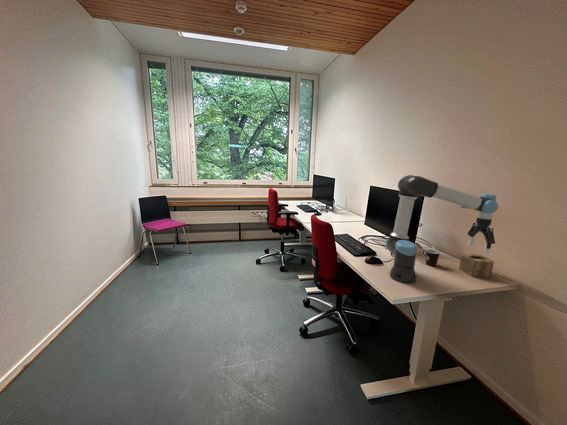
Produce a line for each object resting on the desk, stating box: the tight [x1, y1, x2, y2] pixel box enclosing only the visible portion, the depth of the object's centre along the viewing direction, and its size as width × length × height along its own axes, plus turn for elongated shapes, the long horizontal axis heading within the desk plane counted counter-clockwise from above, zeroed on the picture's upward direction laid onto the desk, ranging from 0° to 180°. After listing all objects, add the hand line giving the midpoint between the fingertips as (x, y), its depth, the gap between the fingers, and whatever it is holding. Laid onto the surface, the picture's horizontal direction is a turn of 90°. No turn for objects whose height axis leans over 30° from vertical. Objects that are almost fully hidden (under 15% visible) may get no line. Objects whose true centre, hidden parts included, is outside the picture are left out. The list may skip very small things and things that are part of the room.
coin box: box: [458, 253, 495, 278], centre depth 156 cm, size 12×12×11 cm
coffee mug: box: [422, 249, 440, 267], centre depth 170 cm, size 12×9×10 cm
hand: (478, 249), depth 154 cm, fingers open, 13 cm apart
